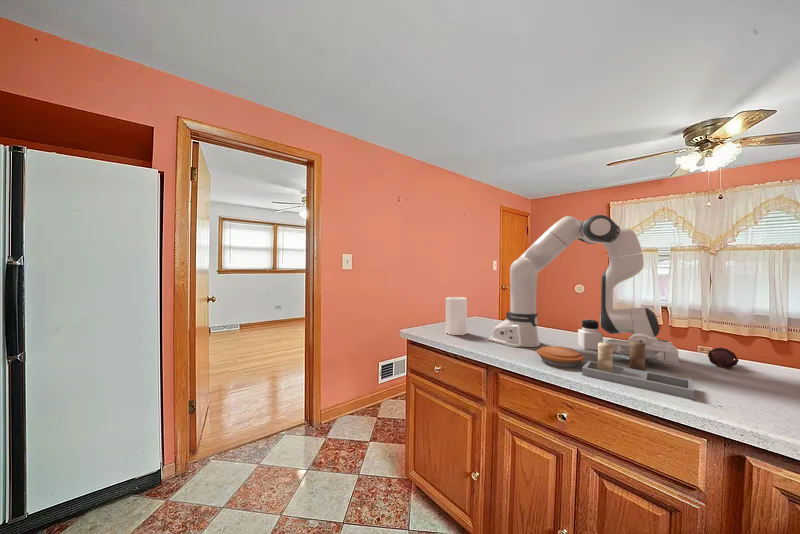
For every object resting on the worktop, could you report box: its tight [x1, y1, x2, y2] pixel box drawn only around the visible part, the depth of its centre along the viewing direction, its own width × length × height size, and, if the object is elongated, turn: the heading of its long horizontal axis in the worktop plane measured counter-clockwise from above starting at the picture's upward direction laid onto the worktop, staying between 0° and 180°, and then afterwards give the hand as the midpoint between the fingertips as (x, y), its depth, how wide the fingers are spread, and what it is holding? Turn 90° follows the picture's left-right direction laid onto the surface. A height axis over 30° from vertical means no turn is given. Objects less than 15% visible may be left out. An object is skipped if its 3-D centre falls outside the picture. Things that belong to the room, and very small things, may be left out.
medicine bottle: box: [577, 319, 604, 351], centre depth 130 cm, size 7×7×12 cm
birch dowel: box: [597, 342, 614, 373], centre depth 97 cm, size 4×4×10 cm
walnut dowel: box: [629, 342, 646, 371], centre depth 99 cm, size 4×4×10 cm
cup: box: [445, 296, 468, 336], centre depth 156 cm, size 11×11×18 cm
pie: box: [535, 345, 585, 369], centre depth 110 cm, size 16×16×5 cm
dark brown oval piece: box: [707, 347, 739, 369], centre depth 106 cm, size 7×7×15 cm
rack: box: [581, 360, 695, 401], centre depth 92 cm, size 26×10×2 cm, turn 47°
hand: (638, 354), depth 102 cm, fingers open, 8 cm apart
